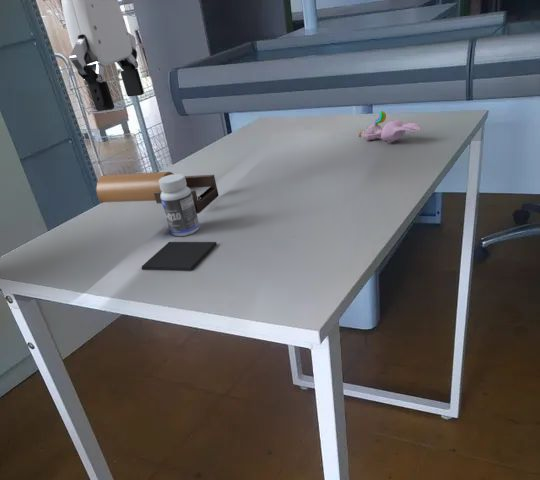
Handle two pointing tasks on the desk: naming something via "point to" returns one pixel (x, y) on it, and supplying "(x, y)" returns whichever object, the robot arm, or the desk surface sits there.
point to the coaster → (179, 256)
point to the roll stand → (195, 182)
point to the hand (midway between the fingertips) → (121, 102)
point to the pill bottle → (178, 205)
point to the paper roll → (129, 187)
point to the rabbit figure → (387, 129)
